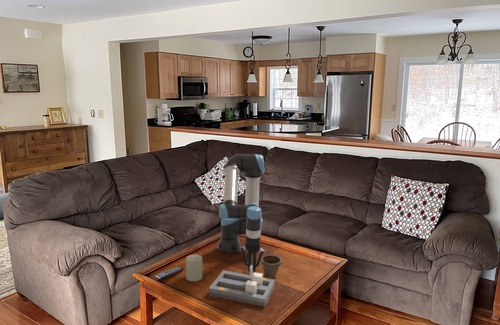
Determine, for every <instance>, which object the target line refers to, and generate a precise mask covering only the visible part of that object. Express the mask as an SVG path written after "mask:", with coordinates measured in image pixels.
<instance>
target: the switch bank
mask: <svg viewBox="0 0 500 325" xmlns="http://www.w3.org/2000/svg"><path fill="white" fill-rule="evenodd" d="M248 280H250V281H252V279H250V274H245V273H240V272H235V271H230V270H224V269H223V270H222V271H221V272H220V273H219V274H218V276H217V278H215V279H214V282H213V283H212V284H211V285H210V286H209V287H208V296H211V297H216V298H221V299H225V300H229V301H230V300H231V301H236V302H240V303H245V304H250V305H255V306H260V307H263V308H265V307H266V306H267V303H268V302H269V299H270V297H271V295H272V293H273V291H274V289H275V285H276V280H275V279H274V278H273V279H272V278H268V277H263V284H262V285H257V293H256V294H253V293H248V292H245V287H246V282H247V281H248Z"/></svg>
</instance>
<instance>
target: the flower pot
mask: <svg viewBox="0 0 500 325" xmlns="http://www.w3.org/2000/svg"><path fill="white" fill-rule="evenodd" d="M260 264H261V265H262V269H263V275H264V276H265V278H268V277H271V278H270V279H272V277H273V278H276V276H277V274H278V271H279V267H280V266H281V265H282V259H281V257H279V256H277V255H273V254H266V255H262V258H261V261H260Z"/></svg>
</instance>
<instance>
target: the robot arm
mask: <svg viewBox="0 0 500 325" xmlns="http://www.w3.org/2000/svg"><path fill="white" fill-rule="evenodd" d="M265 172H266V171H265V159H264V156H263V155H262V154H254V153H252V154H251V153H250V154H249V153H237V154H234V155H232V156H231V157H230V158H228V160H227V161H226V163H225V164H224V167H223V173H224V175H225V177H224V192H223V203H222V204H219V206H218V207H219V209H218V210H219V211H218V216H219V218H220V240H219V242H218V245H217V250H218V252H220V253H221V254H225V255H234V254H235V255H236V254H238V253H239V252H241V253H242V258H243V262H244V265H245V266H247V272H248V273H249V275H250V279H252V275H253V273H255V272H256V268H259V266H260V264H261V258H262V257H263V254H264V253H265V251H266V250H265V249H263V248H262V246H261V233H262V229H263V222H264V221H263V218H262V208H261V207H259V205H260V204H259V203H260V202H259V200H260V181H261V178H262V177H263V174H265ZM240 174H243V177H244V178H245V200H244V201H245V202H244V204H238V191H239V190H238V186H239V185H238V184H239V182H238V181H239V176H240ZM240 236H245V244H244V245H241V241H240V239H239V238H240ZM258 252H259V255H258V258H257V253H258ZM247 254H248V256H247Z"/></svg>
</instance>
